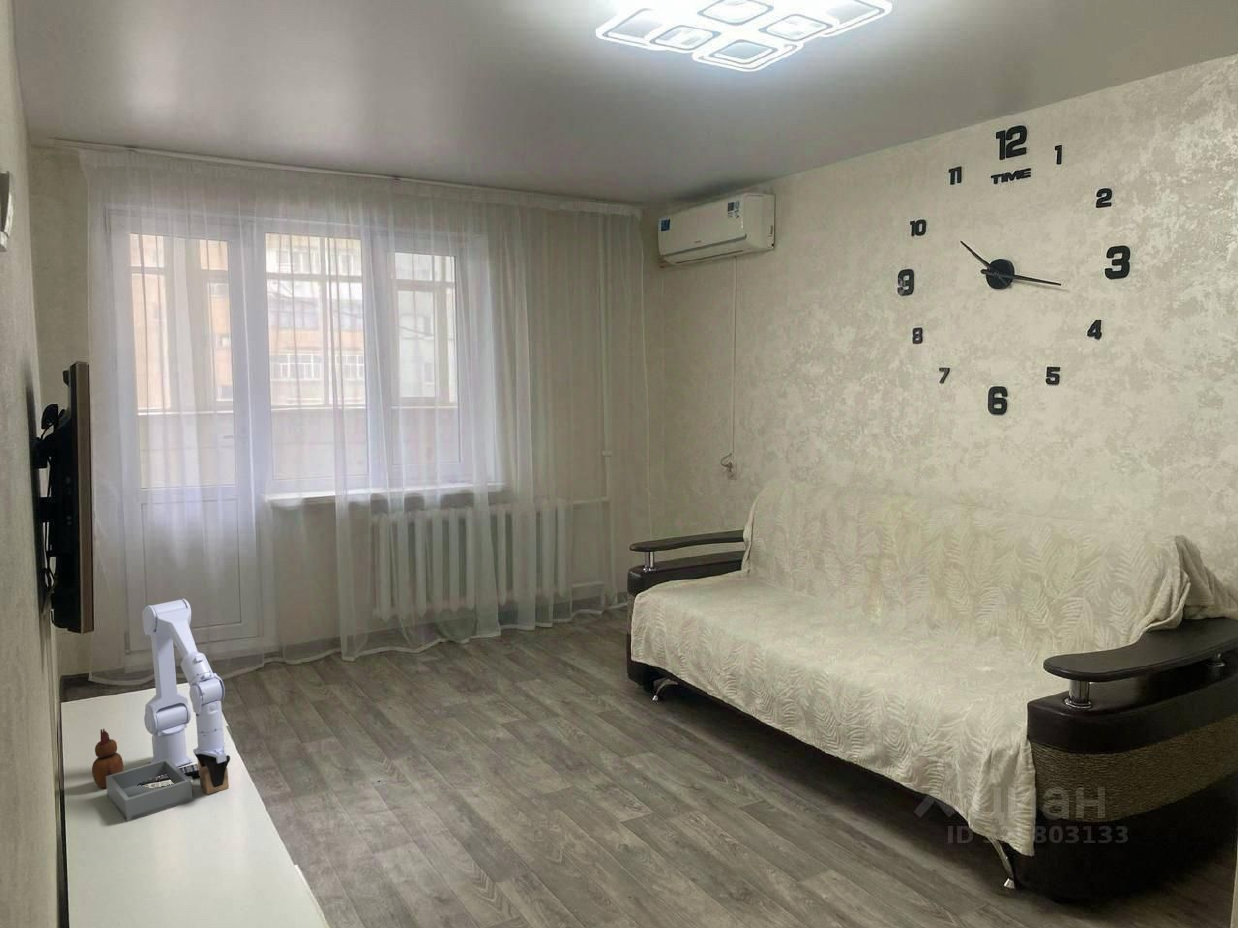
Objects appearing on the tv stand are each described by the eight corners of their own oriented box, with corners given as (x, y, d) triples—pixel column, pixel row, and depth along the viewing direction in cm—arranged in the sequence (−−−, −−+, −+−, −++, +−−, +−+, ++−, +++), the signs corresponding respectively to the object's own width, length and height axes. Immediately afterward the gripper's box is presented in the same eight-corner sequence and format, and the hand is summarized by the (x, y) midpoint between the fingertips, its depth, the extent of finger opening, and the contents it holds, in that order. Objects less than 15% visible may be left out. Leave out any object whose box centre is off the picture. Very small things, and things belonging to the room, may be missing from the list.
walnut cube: (200, 787, 217) (198, 768, 217) (221, 781, 221) (220, 761, 220) (207, 794, 214) (205, 774, 213) (228, 787, 217) (227, 767, 217)
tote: (107, 796, 215) (105, 776, 214) (169, 777, 224) (168, 758, 224) (127, 821, 202) (125, 800, 201) (192, 800, 211) (190, 780, 211)
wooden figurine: (109, 791, 218) (103, 732, 216) (88, 789, 219) (83, 731, 217) (129, 779, 224) (124, 721, 223) (109, 777, 225) (104, 720, 224)
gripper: (183, 724, 218) (187, 778, 220) (202, 741, 208) (206, 797, 209) (213, 716, 223) (217, 769, 224) (233, 732, 213) (237, 787, 214)
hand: (214, 782), depth 217 cm, fingers closed on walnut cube, 5 cm apart
